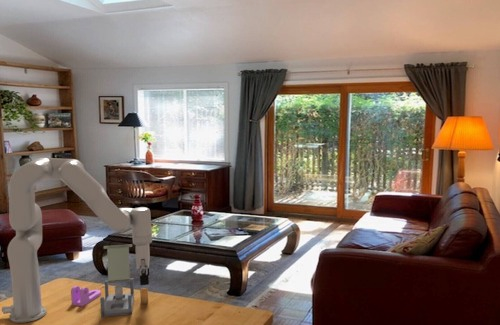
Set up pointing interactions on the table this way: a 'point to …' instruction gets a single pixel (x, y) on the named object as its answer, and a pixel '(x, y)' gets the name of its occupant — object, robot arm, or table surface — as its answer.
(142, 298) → the tan capsule cylinder
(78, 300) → the bracket
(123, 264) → the lid
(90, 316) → the table surface
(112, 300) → the housing
